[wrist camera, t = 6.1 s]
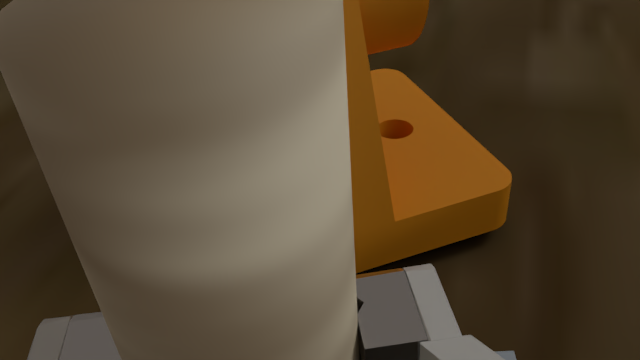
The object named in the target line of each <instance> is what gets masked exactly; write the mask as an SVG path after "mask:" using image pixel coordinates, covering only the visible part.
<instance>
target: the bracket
mask: <svg viewBox="0 0 640 360" xmlns="http://www.w3.org/2000/svg"><path fill="white" fill-rule="evenodd" d="M428 7H429V0H343V11H344V33H345V55H346V76H347V98H348V119H349V141H350V162H351V184H352V205H353V227H354V248H355V270H356V273H359V272H362V271H365V270H368V269H372V268H375V267H378V266H381V265H384V264H387V263H391V262H394V261H397V260H400V259H403V258H407V257H410V256H413V255H416V254H419V253H422V252H426V251H429V250H432V249H435V248H438V247H442V246H445V245H448V244H451V243H454V242H458V241H461V240H464V239H467V238H470V237H473V236H477V235H480V234H483V233H486V232H489V231H493V230H495V229H498V228H499V227H501V226H502V225H503V224H504V223H505V221H506V216H507V209H508V202H509V195H510V188H511V181H512V175H511V173H510V171H509V170H508V169H507V168H506V167H505V166H504V165H503V164H502V163H501V162H500V161H499V160H497V159H496V158H495V157H494V156H493V155H492V154H491V153H490V152H489V151H488V150H487V149H485V148H484V147H483V146H482V145H481V144H480V143H479V142H478V141H477V140H476V139H474V138H473V137H472V136H471V135H470V134H469V133H468V132H467V131H466V130H465V129H464V128H462V127H461V126H460V125H459V124H458V123H457V122H456V121H455V120H454V119H453V118H451V117H450V116H449V115H448V114H447V113H446V112H445V111H444V110H443V109H442V108H441V107H439V106H438V105H437V104H436V103H435V102H434V101H433V100H432V99H431V98H430V97H429V96H427V95H426V94H425V93H424V92H423V91H422V90H421V89H420V88H419V87H418V86H416V85H415V84H414V83H413V82H412V81H411V80H410V79H409V78H408V77H407V76H406V75H404V74H403V73H402V72H400V71H397V70H393V69H377V70H373V71H370V66H369V60H368V54H373V53H377V52H382V51H386V50H390V49H395V48H399V47H404V46H408V45H411V44H413V43H414V42H415V41H416V40H417V39H418V37H419V36H420V34H421V32H422V30H423V28H424V25H425V22H426V18H427V13H428Z"/></svg>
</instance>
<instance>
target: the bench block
mask: <svg viewBox="0 0 640 360" xmlns="http://www.w3.org/2000/svg"><path fill="white" fill-rule="evenodd" d="M495 353H497V354H498V355H499V356H501V357H502V358H504V359H505V360H517V359H516V356H515V353H514V351H499V352H495Z"/></svg>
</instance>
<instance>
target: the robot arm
mask: <svg viewBox="0 0 640 360" xmlns="http://www.w3.org/2000/svg"><path fill="white" fill-rule="evenodd" d="M356 291H357V313H358V318H357V319H358V341H359V356H360V360H505V359H504V358H502V357H501V356H499V355H498V354H497V353H495V352H494V351H493V350H491V349H490V348H488V347H487V346H486V345H484V344H483V343H482V342H480V341H479V340H477V339H476V338H475V337H473V336H472V335H465V336H462V334H461V332H460V329H459V327H458V324H457V322H456V319H455V317H454V314H453V312H452V309H451V307H450V304H449V302H448V299H447V297H446V294H445V292H444V290H443V287H442V285H441V282H440V280H439V277H438V275H437V272H436V270H435V267H434V266H433V265H432V264H424V265H417V266H411V267H404V268H403V269H402V268H397V269H391V270H385V271H378V272H372V273H365V274H359V275H356ZM27 360H121V357H120V355H119V353H118V350H117V348H116V345H115V343H114V341H113V338H112V336H111V333H110V331H109V329H108V326H107V324H106V322H105V319H104V317H103V314H102V312H96V313H87V314H79V315H74V316H67V317H59V318H51V319H44V320H43V321H42V322H41V324H40V325H39V326H38V328H37V330H36V333H35V337H34V340H33V343H32V346H31V349H30V352H29V355H28V358H27Z"/></svg>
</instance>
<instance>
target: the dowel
mask: <svg viewBox="0 0 640 360" xmlns="http://www.w3.org/2000/svg"><path fill="white" fill-rule="evenodd" d="M0 71H1V73H2V75H3V78H4V80H5V83H6V85H7V87H8V90H9V92H10V95H11V97H12V99H13V102H14V104H15V106H16V109H17V111H18V114H19V116H20V118H21V121H22V123H23V126H24V128H25V130H26V133H27V135H28V138H29V140H30V142H31V145H32V147H33V149H34V152H35V154H36V157H37V159H38V161H39V164H40V166H41V169H42V171H43V173H44V176H45V178H46V181H47V183H48V185H49V188H50V190H51V192H52V195H53V197H54V200H55V202H56V204H57V207H58V209H59V212H60V214H61V216H62V219H63V221H64V224H65V226H66V228H67V231H68V233H69V236H70V238H71V240H72V243H73V245H74V247H75V250H76V252H77V255H78V257H79V259H80V262H81V264H82V267H83V269H84V271H85V274H86V276H87V279H88V281H89V283H90V286H91V288H92V290H93V293H94V295H95V298H96V300H97V302H98V305H99V307H100V310H101V312H102V314H103V317H104V319H105V322H106V324H107V326H108V329H109V331H110V333H111V336H112V338H113V341H114V343H115V345H116V348H117V350H118V353H119V355H120V357H121V360H360V356H359V341H358V319H357V318H358V313H357V291H356V270H355V248H354V227H353V205H352V184H351V162H350V141H349V119H348V98H347V76H346V55H345V33H344V11H343V0H13V1H12V2H10V3H9V4H8V5H6V6H5V7H4V8H3V9H2V10H1V11H0Z"/></svg>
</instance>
